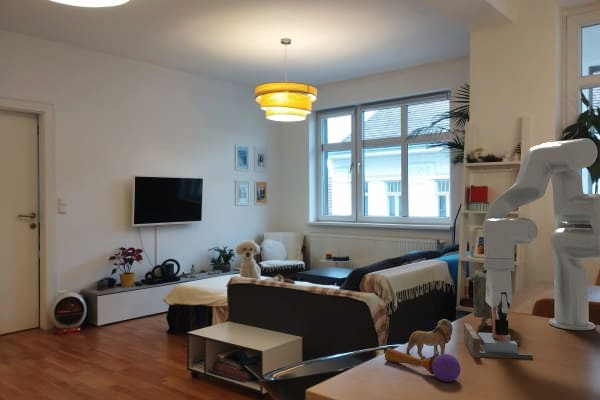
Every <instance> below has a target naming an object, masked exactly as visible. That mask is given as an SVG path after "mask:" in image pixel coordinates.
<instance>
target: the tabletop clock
mask: <svg viewBox="0 0 600 400" xmlns="http://www.w3.org/2000/svg"><path fill="white" fill-rule="evenodd" d="M486 275H487V270H485V269H484V264H483V265H482V266H481V269H480V270H479V269H477V270H475V271H474V274H473V280H472V281H473V285H472V286H473V287H472V288H473V290H472V291H473V292H472V293H473V295H472V296H473V317H474V318H479V319H480V318H481V320H480V321H481V323H480V324H478V325H477V329H478V331H482V330H484V326H483V325H484V324H485V323H487V320H488V319H491V315H492V307H491V306H490V305H489V304H488V303H487V302H486Z"/></svg>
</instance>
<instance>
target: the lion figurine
mask: <svg viewBox="0 0 600 400" xmlns="http://www.w3.org/2000/svg"><path fill="white" fill-rule="evenodd" d="M453 330H454V327H453V324H452V322H451V320H448V319H446V318H442V319H441V320H439V321H438V322H437V326H435V328H434V329H433V330H431V331H423V330H416V331H414V332H412V333H411V335H410V336H409V339H408V341H407V342H408V343H407V347H406V352H405V354H407V355H410V356H412V353H410V351H411V350H412V349H413V348H415V346H416V347H417V353H416V354H417V355H418V356H419V359H421V360H423V359H426V358H427V357H426V356H424V355H423V354H422V351H423V348H424V346H427V347H433V354H434V355H441V354H445V350H446V344H448V343H450V341H451V340H452V335H453ZM438 348H440V352H439V350H438Z"/></svg>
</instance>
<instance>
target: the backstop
mask: <svg viewBox="0 0 600 400" xmlns="http://www.w3.org/2000/svg"><path fill="white" fill-rule="evenodd" d="M510 341H513V340H511V339H510ZM514 341H515V342H516V343H517V345H518V346H521V341H520V340H514ZM463 342H464V343H465V345H466V346H467V349H468V351H469V352H470V355H472V358H473V359H480V358H481V357H484V358H486V357H488V358H502V359H505V358H506V359H521V360H522V359H523V360H524V359H525V360H533V359H534V357H533V356H534V355H533V354H532V353H519V352H518V353H502V352H483V351H482V350H480V349H481V347H480V338H479V337H478V333H477V332H476V331H475V329H473V327H472V325H471V324H470V323H469V322H463Z"/></svg>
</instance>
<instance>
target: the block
mask: <svg viewBox="0 0 600 400" xmlns="http://www.w3.org/2000/svg"><path fill="white" fill-rule="evenodd" d="M477 336H478V337H479V338H480V349H481V351H482V352H502V353H519V352H518V348H519V347H518V346H519V345H517V343H516V342H515V341H516V340H512V341H510V340H511V335H510V334H509V333H508V335H507V341H498V340H494V339H493V332H477Z"/></svg>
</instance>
